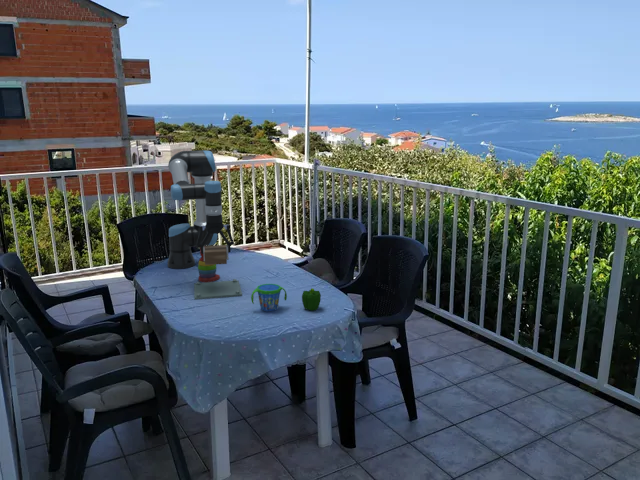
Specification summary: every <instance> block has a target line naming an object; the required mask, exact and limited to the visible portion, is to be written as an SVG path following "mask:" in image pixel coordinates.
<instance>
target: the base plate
mask: <svg viewBox="0 0 640 480" xmlns="http://www.w3.org/2000/svg"><path fill="white" fill-rule="evenodd" d="M193 287H194V290H193V291H194V292H193V293H194V295H193V296H194V297H193V299H194V300H206V299H221V298H234V297H242V296H243V292H242V287H241V284H240V280H238V279H237V278H233V279H232V280H223V281H213V282H201V281H196V283H193Z"/></svg>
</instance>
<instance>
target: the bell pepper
mask: <svg viewBox="0 0 640 480" xmlns="http://www.w3.org/2000/svg"><path fill="white" fill-rule="evenodd" d="M321 295H322V294H321V293H320V290H315V289H314V288H311V289H310V290H304V291H303V292H302V295H301V301H302V305H303V309H305V310H308V311H311V312H312V311H314V310H315V311H316V310H318V309H319V307H320V304H321V300H322V299H321V297H322V296H321Z"/></svg>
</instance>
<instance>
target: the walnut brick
mask: <svg viewBox="0 0 640 480" xmlns="http://www.w3.org/2000/svg"><path fill="white" fill-rule="evenodd" d="M226 245H227V244H222V245H219V244H217V245H215V244H214V245H209V246H205V252H204V254H205V265H214V264H216V265H227V264H228V260H227V254H226Z"/></svg>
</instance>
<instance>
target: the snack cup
mask: <svg viewBox="0 0 640 480" xmlns="http://www.w3.org/2000/svg"><path fill="white" fill-rule="evenodd" d="M282 290H283V292H284V298H283V300H284V301H287V299H288V295H287V291H286V289H285V288H284V287H282V286H281V285H279V284H276V283H262V284H260V285H259V284H258V286H256V288H255V289H254V290H253V291H252V292H251V296H250V300H251V302H252V304H253V305H254V304H255V303H254V295H255V293H257V294H258V299H259V300H258V301H259V306H260V310H261V311H263V312H266V313H267V312H274V311H276V310H278V308H279V302H280V294H281V292H282Z"/></svg>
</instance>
